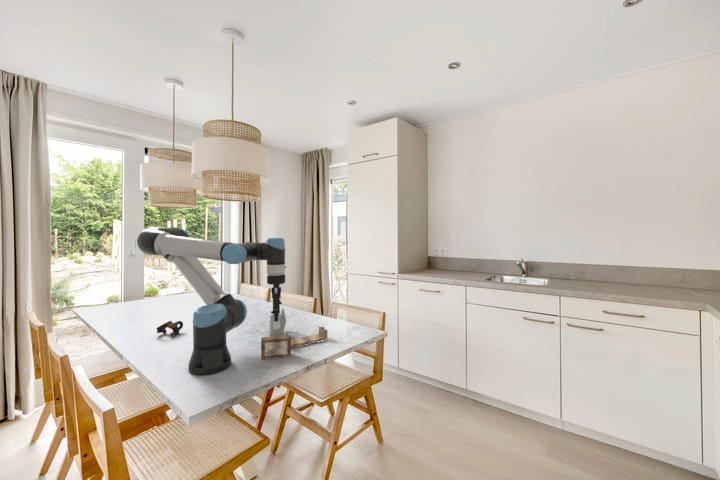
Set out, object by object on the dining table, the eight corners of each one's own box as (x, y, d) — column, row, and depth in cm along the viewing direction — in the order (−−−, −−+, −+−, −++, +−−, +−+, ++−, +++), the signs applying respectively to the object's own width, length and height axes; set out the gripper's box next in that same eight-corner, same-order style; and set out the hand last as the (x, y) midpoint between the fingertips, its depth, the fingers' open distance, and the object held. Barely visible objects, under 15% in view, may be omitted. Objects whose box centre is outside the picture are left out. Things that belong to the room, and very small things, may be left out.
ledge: (288, 349, 140) (288, 336, 139) (282, 344, 145) (282, 332, 145) (327, 340, 151) (327, 328, 151) (320, 336, 157) (320, 325, 156)
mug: (265, 336, 157) (265, 312, 157) (279, 329, 168) (278, 307, 168) (278, 337, 154) (278, 313, 154) (291, 330, 166) (291, 308, 165)
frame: (261, 359, 128) (261, 340, 128) (261, 355, 132) (261, 337, 132) (290, 356, 131) (290, 338, 131) (290, 353, 135) (290, 335, 135)
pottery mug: (166, 340, 151) (158, 326, 151) (159, 345, 156) (151, 331, 156) (189, 328, 161) (181, 314, 161) (182, 332, 166) (174, 319, 166)
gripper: (285, 278, 120) (286, 332, 120) (285, 270, 144) (285, 315, 145) (265, 278, 118) (266, 334, 119) (268, 270, 142) (268, 316, 143)
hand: (276, 324), depth 132 cm, fingers open, 13 cm apart
